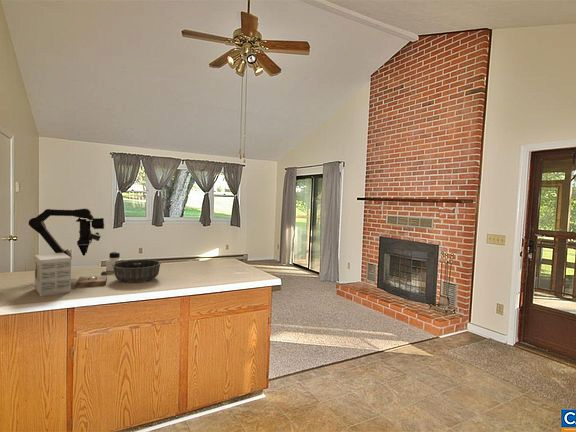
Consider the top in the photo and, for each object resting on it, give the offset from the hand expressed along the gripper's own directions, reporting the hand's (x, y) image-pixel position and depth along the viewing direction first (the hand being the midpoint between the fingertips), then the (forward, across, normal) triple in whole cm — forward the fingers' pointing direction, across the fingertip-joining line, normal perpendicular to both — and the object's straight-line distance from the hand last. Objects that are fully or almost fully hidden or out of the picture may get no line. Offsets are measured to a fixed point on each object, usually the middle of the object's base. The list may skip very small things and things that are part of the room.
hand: (84, 254), depth 207 cm
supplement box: (+13, -32, +11) cm, 36 cm away
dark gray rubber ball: (+11, -8, -11) cm, 18 cm away
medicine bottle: (+13, +10, -16) cm, 23 cm away
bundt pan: (+13, -20, -29) cm, 38 cm away
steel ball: (+11, -22, -6) cm, 26 cm away
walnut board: (+13, -22, -6) cm, 26 cm away
